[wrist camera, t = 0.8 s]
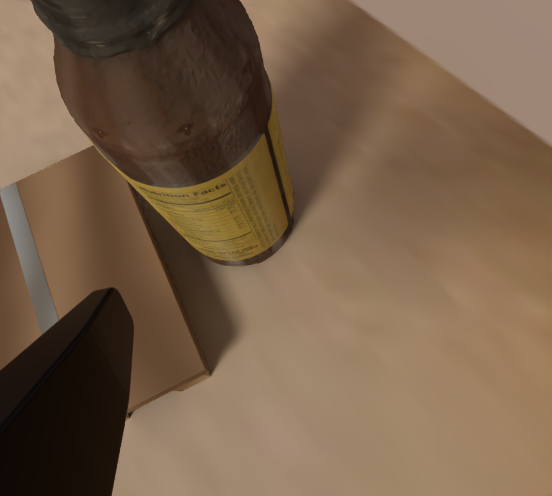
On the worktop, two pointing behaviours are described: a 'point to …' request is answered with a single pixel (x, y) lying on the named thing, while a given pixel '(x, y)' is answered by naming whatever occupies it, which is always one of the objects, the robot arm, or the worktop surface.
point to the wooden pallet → (91, 269)
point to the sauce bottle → (180, 115)
